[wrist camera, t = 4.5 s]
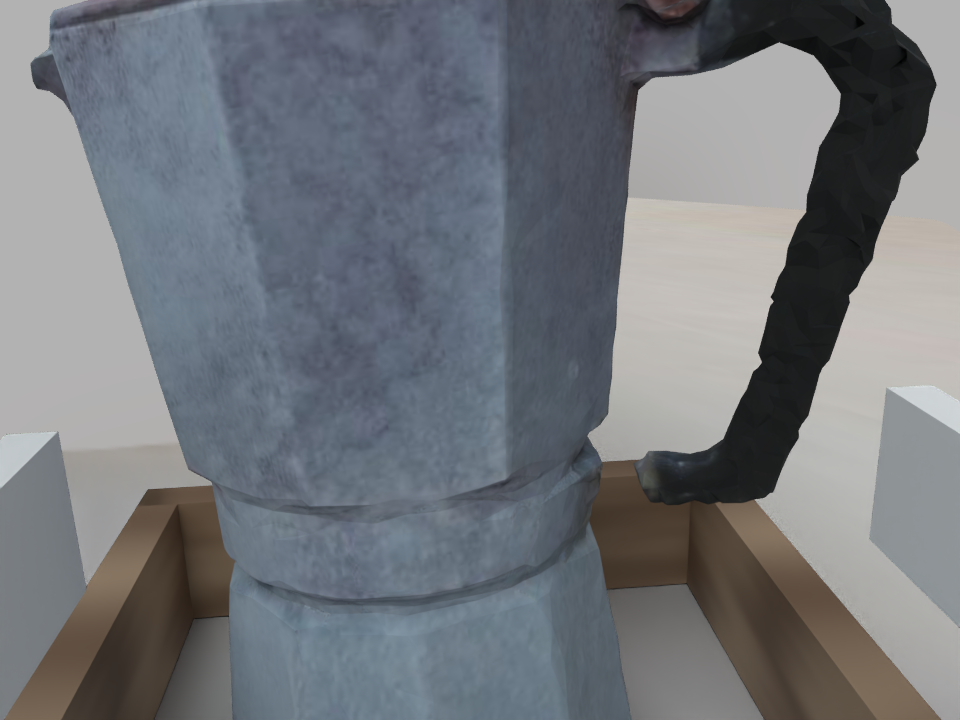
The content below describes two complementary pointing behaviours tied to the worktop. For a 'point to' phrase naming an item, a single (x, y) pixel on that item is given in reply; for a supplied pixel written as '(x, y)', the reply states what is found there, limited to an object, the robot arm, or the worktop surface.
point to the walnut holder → (626, 563)
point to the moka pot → (439, 310)
